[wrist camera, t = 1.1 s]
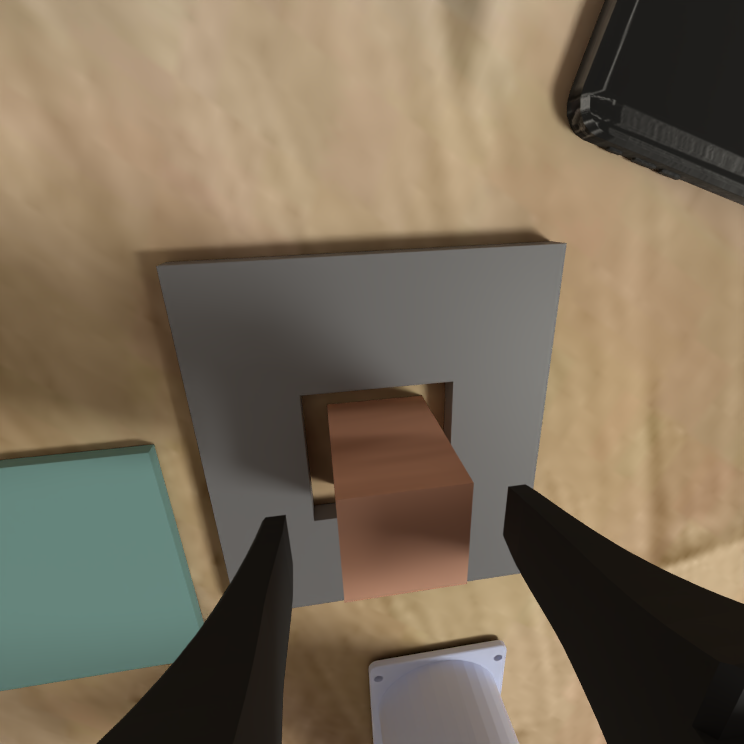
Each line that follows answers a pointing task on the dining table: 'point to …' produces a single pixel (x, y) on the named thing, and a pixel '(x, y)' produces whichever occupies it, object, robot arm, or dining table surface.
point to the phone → (667, 89)
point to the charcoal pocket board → (361, 377)
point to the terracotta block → (398, 499)
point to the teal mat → (90, 567)
